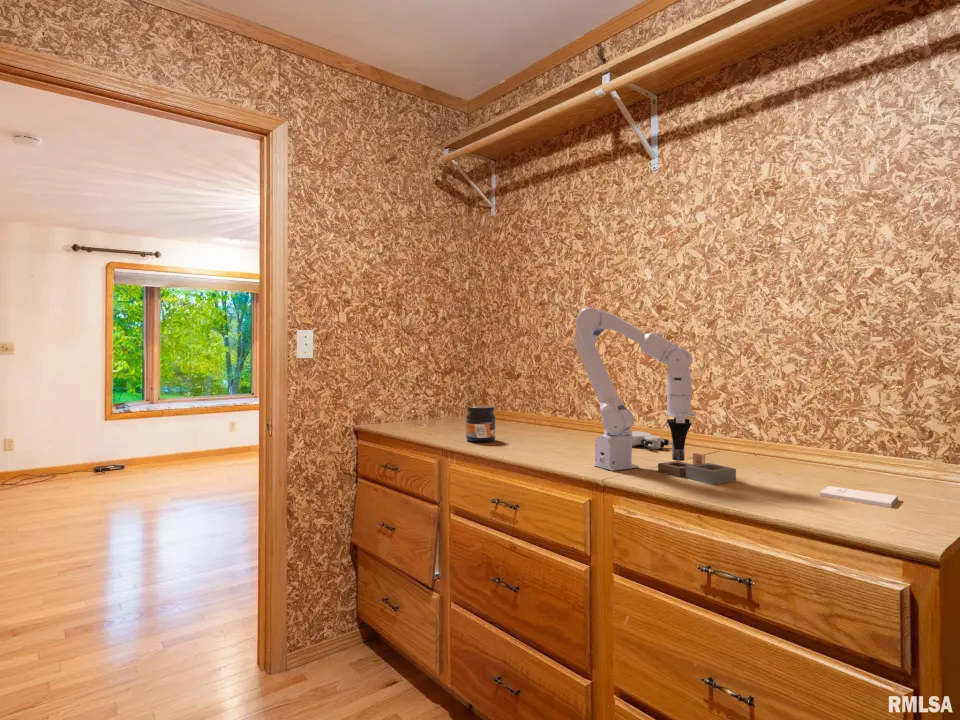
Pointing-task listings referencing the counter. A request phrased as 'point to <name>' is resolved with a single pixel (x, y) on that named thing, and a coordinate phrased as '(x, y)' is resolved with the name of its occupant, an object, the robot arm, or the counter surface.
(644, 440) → the robot toy
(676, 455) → the rounded metal peg
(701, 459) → the pin
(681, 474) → the socket block
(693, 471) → the block
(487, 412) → the supplement container
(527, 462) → the counter surface
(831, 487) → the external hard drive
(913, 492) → the counter surface
